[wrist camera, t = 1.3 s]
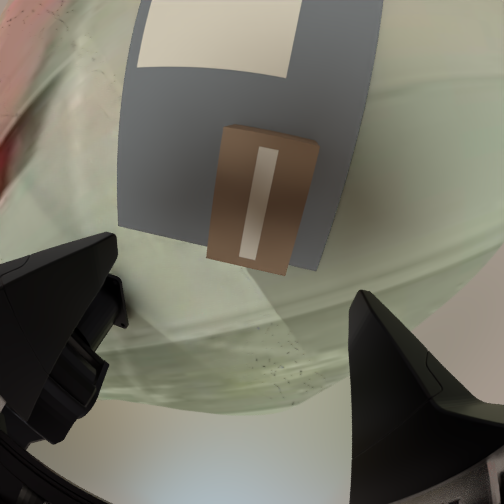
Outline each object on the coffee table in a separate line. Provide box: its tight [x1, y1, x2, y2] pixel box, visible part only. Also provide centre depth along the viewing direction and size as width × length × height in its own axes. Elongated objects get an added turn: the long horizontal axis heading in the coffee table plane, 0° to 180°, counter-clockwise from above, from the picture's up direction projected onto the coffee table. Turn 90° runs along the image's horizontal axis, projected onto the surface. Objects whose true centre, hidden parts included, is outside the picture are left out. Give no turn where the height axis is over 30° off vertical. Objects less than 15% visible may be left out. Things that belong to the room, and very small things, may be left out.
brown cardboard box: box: [206, 124, 320, 276], centre depth 16 cm, size 8×5×3 cm, turn 170°
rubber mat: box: [117, 0, 383, 271], centre depth 15 cm, size 22×16×1 cm
